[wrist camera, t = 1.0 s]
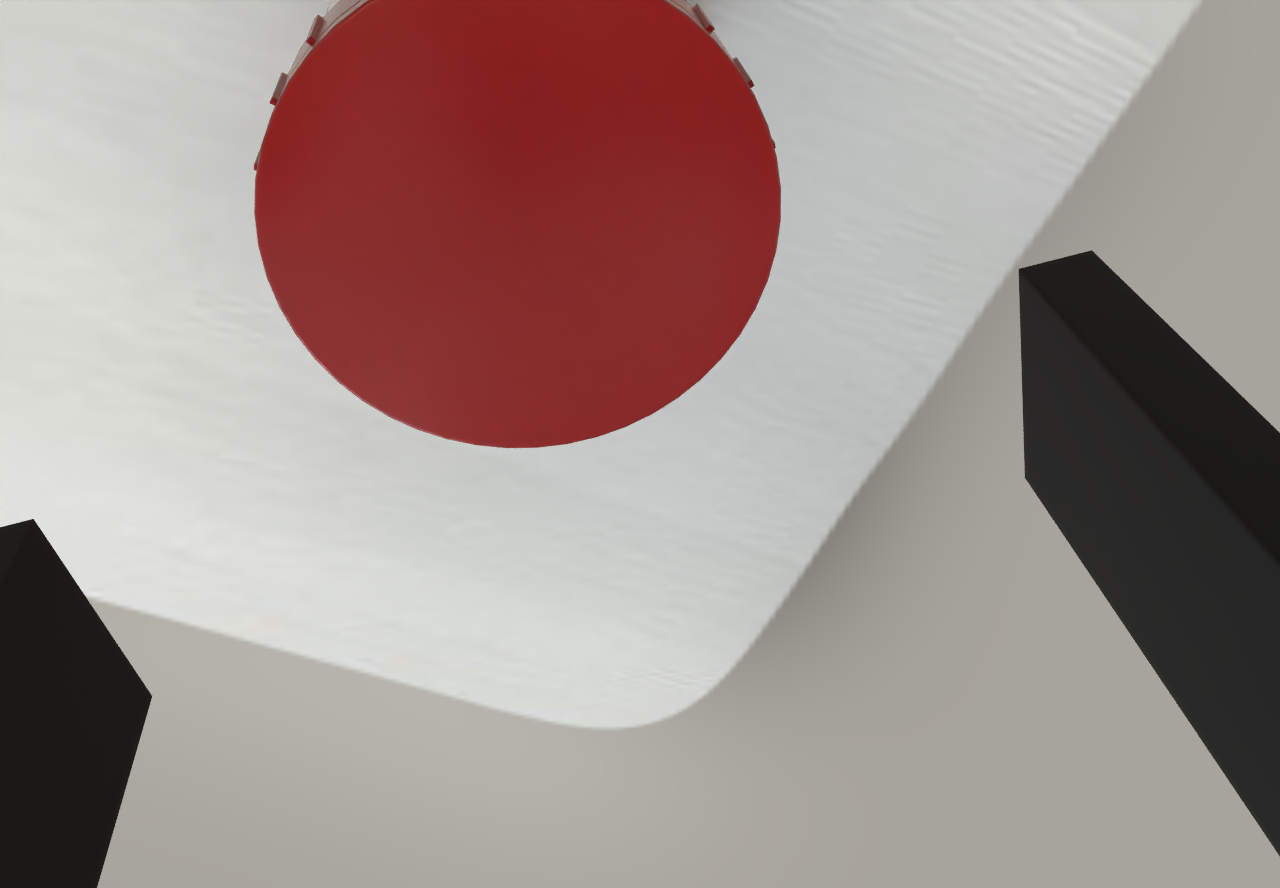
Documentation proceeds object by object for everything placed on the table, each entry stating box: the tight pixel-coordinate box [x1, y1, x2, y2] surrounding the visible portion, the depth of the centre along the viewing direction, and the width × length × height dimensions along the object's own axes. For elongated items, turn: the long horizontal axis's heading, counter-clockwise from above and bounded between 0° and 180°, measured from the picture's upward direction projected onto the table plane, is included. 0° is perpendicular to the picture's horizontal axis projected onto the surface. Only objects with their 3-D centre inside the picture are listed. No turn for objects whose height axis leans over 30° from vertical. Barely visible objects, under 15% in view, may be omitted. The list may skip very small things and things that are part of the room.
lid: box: [254, 0, 781, 448], centre depth 19 cm, size 8×8×2 cm
